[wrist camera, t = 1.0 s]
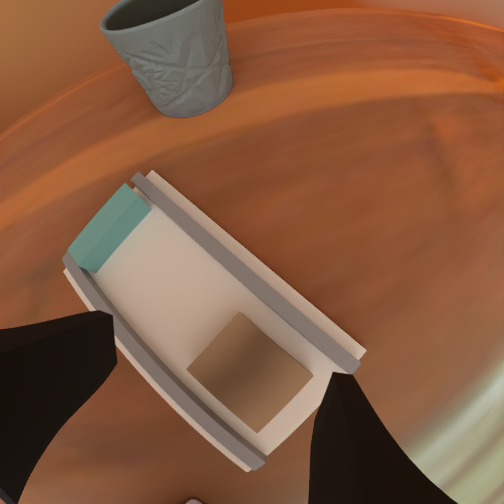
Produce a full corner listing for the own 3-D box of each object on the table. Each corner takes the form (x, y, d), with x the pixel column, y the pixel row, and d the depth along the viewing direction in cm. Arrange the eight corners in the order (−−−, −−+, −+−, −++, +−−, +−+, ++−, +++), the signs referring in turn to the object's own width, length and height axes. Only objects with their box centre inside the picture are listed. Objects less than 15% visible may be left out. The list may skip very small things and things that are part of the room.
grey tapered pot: (241, 57, 28) (223, -33, 17) (240, 119, 25) (214, 7, 14) (156, 71, 29) (120, -7, 18) (138, 134, 26) (80, 46, 15)
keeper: (310, 372, 18) (313, 376, 17) (260, 425, 18) (257, 433, 16) (243, 314, 20) (239, 311, 18) (195, 366, 19) (185, 369, 17)
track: (364, 350, 19) (377, 351, 16) (248, 470, 17) (242, 487, 14) (154, 172, 25) (140, 154, 22) (66, 272, 23) (45, 264, 20)
